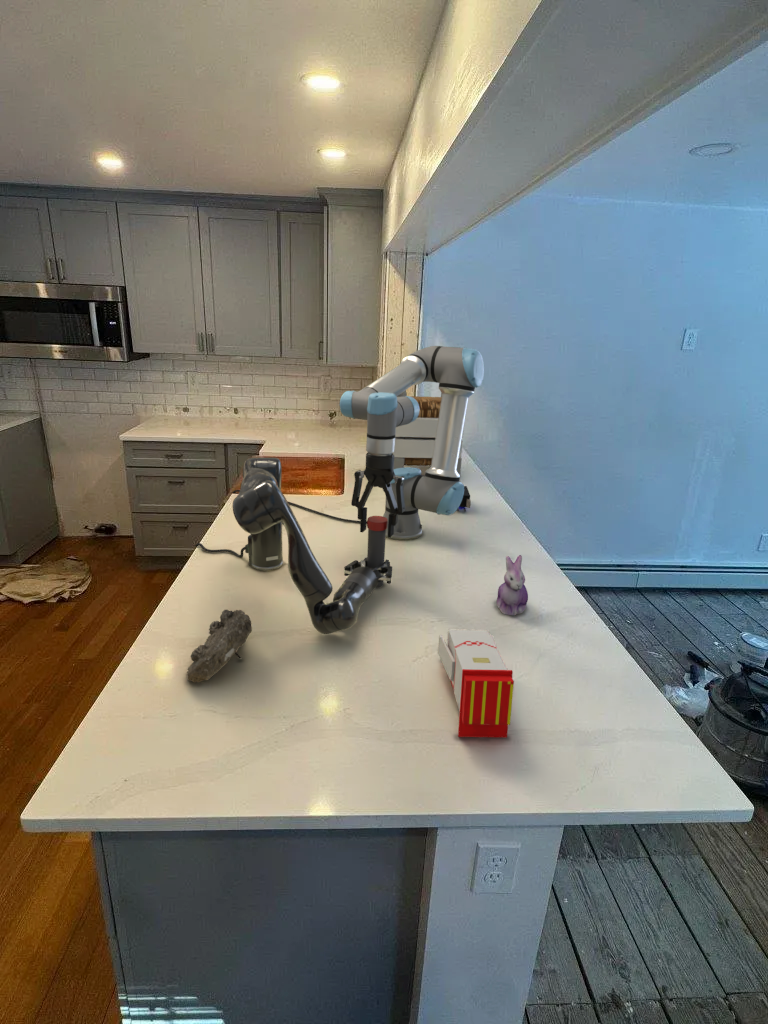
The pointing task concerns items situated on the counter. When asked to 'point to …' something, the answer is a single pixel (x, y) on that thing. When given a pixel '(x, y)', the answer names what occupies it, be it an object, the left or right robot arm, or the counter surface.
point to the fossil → (219, 645)
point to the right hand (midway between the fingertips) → (376, 533)
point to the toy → (478, 682)
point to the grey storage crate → (419, 435)
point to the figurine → (512, 589)
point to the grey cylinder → (376, 550)
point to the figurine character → (465, 500)
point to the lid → (377, 523)
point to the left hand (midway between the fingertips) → (378, 561)
